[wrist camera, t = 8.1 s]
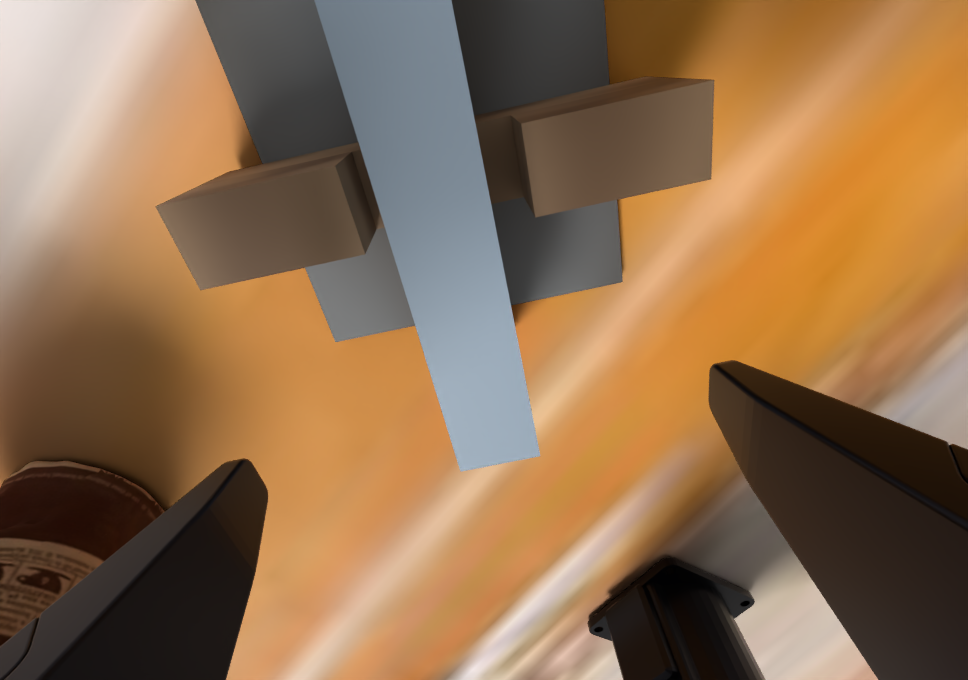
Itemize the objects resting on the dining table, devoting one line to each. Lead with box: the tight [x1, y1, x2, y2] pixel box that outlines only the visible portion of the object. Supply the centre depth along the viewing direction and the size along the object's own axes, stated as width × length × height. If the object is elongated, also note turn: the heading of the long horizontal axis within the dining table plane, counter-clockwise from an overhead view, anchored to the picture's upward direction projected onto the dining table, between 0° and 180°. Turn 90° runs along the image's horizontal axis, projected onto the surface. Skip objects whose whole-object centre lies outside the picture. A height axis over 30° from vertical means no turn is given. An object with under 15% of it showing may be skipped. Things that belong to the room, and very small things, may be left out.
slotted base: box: [156, 0, 714, 342], centre depth 13 cm, size 12×10×4 cm
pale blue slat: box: [314, 0, 540, 471], centre depth 12 cm, size 12×2×6 cm, turn 12°
